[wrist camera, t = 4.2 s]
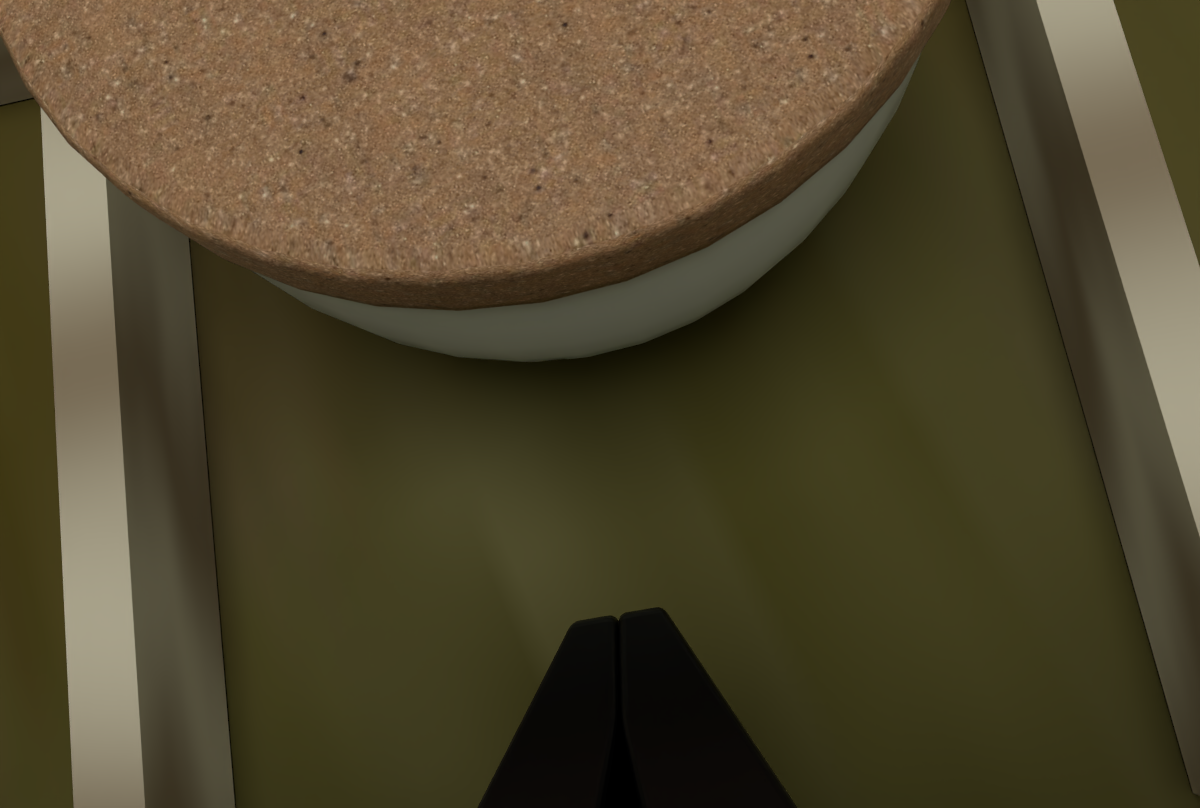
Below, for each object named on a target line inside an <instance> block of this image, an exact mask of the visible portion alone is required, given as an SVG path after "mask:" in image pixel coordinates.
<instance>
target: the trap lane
mask: <svg viewBox="0 0 1200 808" xmlns="http://www.w3.org/2000/svg"><path fill="white" fill-rule="evenodd" d="M966 3H967V6H968V10H969V13H970V17H971V20H972V24H973V27H974V31H975V34H976V38H977V41H978V45H979V48H980V52H981V55H982V59H983V62H984V66H985V69H986V73H987V76H988V79H989V83H990V86H991V90H992V93H993V97H994V100H995V104H996V107H997V111H998V114H999V118H1000V121H1001V125H1002V128H1003V132H1004V135H1005V139H1006V142H1007V146H1008V149H1009V153H1010V156H1011V160H1012V163H1013V167H1014V170H1015V174H1016V177H1017V181H1018V184H1019V188H1020V191H1021V195H1022V198H1023V202H1024V205H1025V209H1026V212H1027V216H1028V219H1029V223H1030V226H1031V230H1032V233H1033V236H1034V240H1035V243H1036V247H1037V250H1038V254H1039V257H1040V261H1041V264H1042V268H1043V271H1044V275H1045V278H1046V282H1047V285H1048V289H1049V292H1050V296H1051V299H1052V303H1053V306H1054V310H1055V313H1056V317H1057V320H1058V324H1059V327H1060V331H1061V334H1062V338H1063V341H1064V345H1065V348H1066V352H1067V355H1068V359H1069V362H1070V366H1071V369H1072V373H1073V376H1074V380H1075V383H1076V387H1077V390H1078V394H1079V397H1080V400H1081V404H1082V407H1083V411H1084V414H1085V418H1086V421H1087V425H1088V428H1089V432H1090V435H1091V439H1092V442H1093V446H1094V449H1095V453H1096V456H1097V460H1098V463H1099V467H1100V470H1101V474H1102V477H1103V481H1104V484H1105V488H1106V491H1107V495H1108V498H1109V502H1110V505H1111V509H1112V512H1113V516H1114V519H1115V523H1116V526H1117V530H1118V533H1119V537H1120V540H1121V544H1122V547H1123V551H1124V554H1125V557H1126V561H1127V564H1128V568H1129V571H1130V575H1131V578H1132V582H1133V585H1134V589H1135V592H1136V596H1137V599H1138V603H1139V606H1140V610H1141V613H1142V617H1143V620H1144V624H1145V627H1146V631H1147V634H1148V638H1149V641H1150V645H1151V648H1152V652H1153V655H1154V659H1155V662H1156V666H1157V669H1158V673H1159V676H1160V680H1161V683H1162V687H1163V690H1164V694H1165V697H1166V701H1167V704H1168V708H1169V711H1170V715H1171V718H1172V721H1173V725H1174V728H1175V732H1176V735H1177V739H1178V742H1179V746H1180V749H1181V753H1182V756H1183V760H1184V763H1185V767H1186V770H1187V774H1188V777H1189V781H1190V784H1191V788H1192V791H1193V793H1194V794H1197V795H1199V796H1200V267H1199V264H1198V261H1197V258H1196V255H1195V251H1194V248H1193V245H1192V242H1191V239H1190V236H1189V233H1188V230H1187V227H1186V224H1185V221H1184V218H1183V214H1182V211H1181V208H1180V205H1179V202H1178V199H1177V196H1176V193H1175V190H1174V187H1173V184H1172V181H1171V177H1170V174H1169V171H1168V168H1167V165H1166V162H1165V159H1164V156H1163V153H1162V150H1161V147H1160V144H1159V141H1158V137H1157V134H1156V131H1155V128H1154V125H1153V122H1152V119H1151V116H1150V113H1149V110H1148V107H1147V104H1146V100H1145V97H1144V94H1143V91H1142V88H1141V85H1140V82H1139V79H1138V76H1137V73H1136V70H1135V67H1134V63H1133V60H1132V57H1131V54H1130V51H1129V48H1128V45H1127V42H1126V39H1125V36H1124V33H1123V30H1122V26H1121V23H1120V20H1119V17H1118V14H1117V11H1116V8H1115V5H1114V2H1113V0H966ZM29 98H33V96H32V95H31V94H30V92H29V91H28V90H27V88H26V87H25V85H24V83H23V81H22V79H21V77H20V75H19V73H18V71H17V69H16V67H15V65H14V62H13V60H12V58H11V56H10V54H9V52H8V50H7V48H6V46H5V44H4V42H3V40H2V38H1V36H0V105H3V104H7V103H11V102H16V101H20V100H25V99H29ZM41 123H42V144H43V165H44V186H45V207H46V228H47V250H48V271H49V292H50V313H51V334H52V355H53V377H54V398H55V419H56V440H57V461H58V482H59V504H60V525H61V546H62V567H63V588H64V609H65V631H66V652H67V673H68V694H69V715H70V736H71V758H72V779H73V800H74V808H235V800H234V788H233V776H232V763H231V751H230V739H229V727H228V714H227V702H226V690H225V678H224V665H223V653H222V641H221V629H220V616H219V604H218V592H217V580H216V567H215V555H214V543H213V531H212V518H211V506H210V494H209V482H208V469H207V457H206V445H205V433H204V420H203V408H202V396H201V384H200V371H199V359H198V347H197V335H196V322H195V310H194V298H193V286H192V273H191V261H190V249H189V237H187V236H186V235H184V234H182V233H181V232H179V231H177V230H176V229H174V228H173V227H171V226H169V225H168V224H166V223H165V222H163V221H161V220H160V219H158V218H157V217H155V216H154V215H152V214H151V213H149V212H148V211H146V210H145V209H143V208H142V207H140V206H139V205H138V204H136V203H135V202H134V201H132V200H131V199H130V198H129V197H127V196H126V195H125V194H123V193H122V192H121V191H120V190H119V189H118V188H117V187H116V186H114V185H113V184H112V183H111V182H110V181H109V180H108V179H107V178H106V177H104V176H103V175H102V174H101V173H100V172H99V171H98V170H97V169H96V168H95V167H93V166H92V165H91V164H90V163H89V162H88V161H87V160H86V159H85V158H83V157H82V156H81V155H80V154H79V153H78V152H77V151H76V150H75V149H74V148H72V147H71V146H70V145H69V144H68V143H67V141H66V140H65V139H64V137H63V136H62V135H61V133H60V132H59V131H58V129H57V128H56V127H55V125H54V124H53V123H52V121H51V120H50V119H49V117H48V116H47V115H46V113H45V112H44V111H43V109H42V108H41Z"/></svg>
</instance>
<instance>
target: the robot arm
mask: <svg viewBox="0 0 1200 808" xmlns="http://www.w3.org/2000/svg"><path fill="white" fill-rule="evenodd" d="M478 808H797V806H796V805H795V803H794V802H793V800H792V799H791V797H790V796H789V794H788V793H787V791H786V790H785V788H784V787H783V785H782V784H781V782H780V781H779V779H778V778H777V776H776V775H775V773H774V772H773V770H772V769H771V767H770V766H769V764H768V763H767V761H766V760H765V758H764V757H763V755H762V754H761V752H760V751H759V750H758V748H757V747H756V745H755V744H754V742H753V741H752V739H751V738H750V736H749V735H748V733H747V732H746V730H745V729H744V727H743V726H742V724H741V723H740V721H739V720H738V718H737V717H736V715H735V714H734V712H733V711H732V709H731V708H730V706H729V705H728V703H727V702H726V700H725V699H724V697H723V696H722V694H721V693H720V691H719V690H718V688H717V687H716V685H715V684H714V682H713V681H712V679H711V678H710V676H709V675H708V673H707V672H706V670H705V669H704V667H703V666H702V664H701V663H700V661H699V660H698V658H697V657H696V655H695V654H694V652H693V651H692V649H691V648H690V646H689V645H688V643H687V642H686V640H685V639H684V637H683V636H682V634H681V633H680V631H679V630H678V628H677V627H676V625H675V624H674V622H673V621H672V619H671V618H670V616H669V615H668V613H667V612H666V611H665V610H664V609H662V608H659V607H656V608H650V609H644V610H638V611H632V612H627V613H624V614H622V615H621V616H620V619H619V621H618V620H617V618H616V617H614V616H603V617H598V618H592V619H586V620H580V621H577V622H575V623H573V624H572V625H571V626H570V628H569V629H568V631H567V633H566V635H565V637H564V639H563V641H562V643H561V645H560V647H559V649H558V651H557V653H556V655H555V657H554V659H553V661H552V663H551V665H550V667H549V669H548V671H547V673H546V675H545V676H544V678H543V680H542V682H541V684H540V686H539V688H538V690H537V692H536V694H535V696H534V698H533V700H532V702H531V704H530V706H529V708H528V710H527V712H526V714H525V716H524V718H523V720H522V722H521V724H520V726H519V727H518V729H517V731H516V733H515V735H514V737H513V739H512V741H511V743H510V745H509V747H508V749H507V751H506V753H505V755H504V757H503V759H502V761H501V763H500V765H499V767H498V769H497V771H496V773H495V775H494V777H493V778H492V780H491V782H490V784H489V786H488V788H487V790H486V792H485V794H484V796H483V798H482V800H481V802H480V804H479V806H478Z"/></svg>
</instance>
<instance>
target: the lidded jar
mask: <svg viewBox="0 0 1200 808" xmlns="http://www.w3.org/2000/svg"><path fill="white" fill-rule="evenodd" d="M950 2H951V0H0V36H1V38H2V40H3V42H4V44H5V46H6V48H7V50H8V52H9V54H10V56H11V58H12V60H13V62H14V65H15V67H16V69H17V71H18V73H19V75H20V77H21V79H22V81H23V83H24V85H25V87H26V88H27V90H28V91H29V92H30V94H31V95H32V96H33V98H34V99H35V100H36V102H37V103H38V104H39V106H40V107H41V108H42V109H43V111H44V112H45V113H46V115H47V116H48V117H49V119H50V120H51V121H52V123H53V124H54V125H55V127H56V128H57V129H58V131H59V132H60V133H61V135H62V136H63V137H64V139H65V140H66V141H67V143H68V144H69V145H70V146H71V147H72V148H74V149H75V150H76V151H77V152H78V153H79V154H80V155H81V156H82V157H83V158H85V159H86V160H87V161H88V162H89V163H90V164H91V165H92V166H93V167H95V168H96V169H97V170H98V171H99V172H100V173H101V174H102V175H103V176H104V177H106V178H107V179H108V180H109V181H110V182H111V183H112V184H113V185H114V186H116V187H117V188H118V189H119V190H120V191H121V192H122V193H123V194H125V195H126V196H127V197H129V198H130V199H131V200H132V201H134V202H135V203H136V204H138V205H139V206H140V207H142V208H143V209H145V210H146V211H148V212H149V213H151V214H152V215H154V216H155V217H157V218H158V219H160V220H161V221H163V222H165V223H166V224H168V225H169V226H171V227H173V228H174V229H176V230H177V231H179V232H181V233H182V234H184V235H186V236H187V237H189V238H190V239H192V240H194V241H195V242H197V243H198V244H200V245H202V246H203V247H205V248H207V249H208V250H210V251H211V252H213V253H215V254H216V255H218V256H219V257H221V258H223V259H225V260H227V261H229V262H232V263H234V264H237V265H239V266H242V267H244V268H247V269H249V270H251V271H252V272H254V273H255V274H257V275H259V276H260V277H262V278H263V279H265V280H267V281H268V282H270V283H272V284H273V285H275V286H276V287H278V288H280V289H281V290H283V291H284V292H286V293H288V294H289V295H291V296H293V297H294V298H296V299H297V300H299V301H301V302H302V303H304V304H306V305H307V306H309V307H310V308H312V309H314V310H317V311H319V312H322V313H324V314H327V315H329V316H331V317H334V318H336V319H339V320H341V321H343V322H346V323H348V324H351V325H353V326H356V327H358V328H361V329H363V330H366V331H368V332H371V333H373V334H376V335H378V336H381V337H383V338H386V339H388V340H391V341H393V342H396V343H398V344H402V345H406V346H411V347H415V348H420V349H424V350H429V351H433V352H438V353H442V354H447V355H451V356H456V357H463V358H472V359H483V360H500V361H516V362H541V361H552V360H563V359H574V358H584V357H590V356H594V355H598V354H602V353H606V352H610V351H614V350H618V349H622V348H626V347H630V346H634V345H638V344H642V343H645V342H647V341H650V340H652V339H654V338H657V337H659V336H662V335H664V334H666V333H669V332H671V331H673V330H676V329H678V328H681V327H683V326H685V325H688V324H690V323H693V322H695V321H697V320H698V319H700V318H702V317H703V316H705V315H707V314H708V313H710V312H712V311H713V310H715V309H716V308H718V307H720V306H721V305H723V304H725V303H726V302H728V301H730V300H731V299H733V298H735V297H736V296H738V295H739V294H741V293H743V292H744V291H746V290H747V289H748V288H749V287H750V286H751V285H753V284H754V283H755V282H756V281H757V280H759V279H760V278H761V277H762V276H763V275H765V274H766V273H767V272H768V271H769V270H770V269H772V268H773V267H774V266H775V265H776V264H778V263H779V262H780V261H781V260H782V259H784V258H785V257H786V256H787V255H788V254H789V253H790V252H792V251H793V250H794V249H795V248H796V247H797V246H798V245H799V244H801V243H802V242H803V241H804V240H805V239H806V238H807V236H808V235H809V234H810V233H811V232H812V231H813V229H814V228H815V227H816V226H817V225H818V224H819V223H820V221H821V220H822V219H823V218H824V217H825V216H826V214H827V213H828V212H829V211H830V210H831V209H832V208H833V206H834V205H835V204H836V203H837V202H838V201H839V199H840V198H841V197H842V196H843V195H844V194H845V192H846V190H847V189H848V187H849V186H850V184H851V183H852V181H853V180H854V178H855V177H856V175H857V174H858V172H859V171H860V169H861V167H862V166H863V164H864V163H865V161H866V159H867V158H868V156H869V155H870V153H871V151H872V150H873V148H874V146H875V145H876V143H877V142H878V140H879V138H880V137H881V135H882V134H883V132H884V130H885V129H886V127H887V125H888V124H889V122H890V121H891V119H892V117H893V116H894V114H895V112H896V111H897V109H898V107H899V104H900V102H901V100H902V97H903V95H904V93H905V90H906V88H907V86H908V83H909V81H910V79H911V76H912V74H913V72H914V69H915V67H916V64H917V62H918V59H919V57H920V54H921V52H922V50H923V48H924V47H925V45H926V43H927V42H928V40H929V38H930V37H931V35H932V34H933V32H934V30H935V29H936V27H937V26H938V24H939V22H940V21H941V19H942V17H943V16H944V14H945V12H946V10H947V8H948V7H949V4H950Z"/></svg>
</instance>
